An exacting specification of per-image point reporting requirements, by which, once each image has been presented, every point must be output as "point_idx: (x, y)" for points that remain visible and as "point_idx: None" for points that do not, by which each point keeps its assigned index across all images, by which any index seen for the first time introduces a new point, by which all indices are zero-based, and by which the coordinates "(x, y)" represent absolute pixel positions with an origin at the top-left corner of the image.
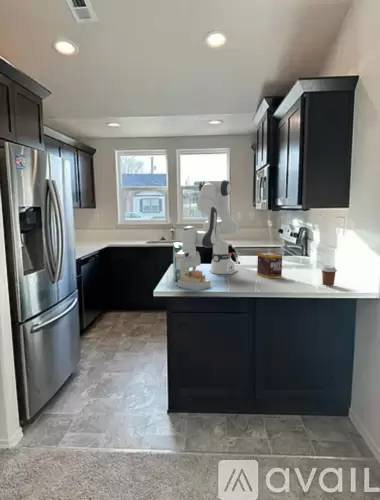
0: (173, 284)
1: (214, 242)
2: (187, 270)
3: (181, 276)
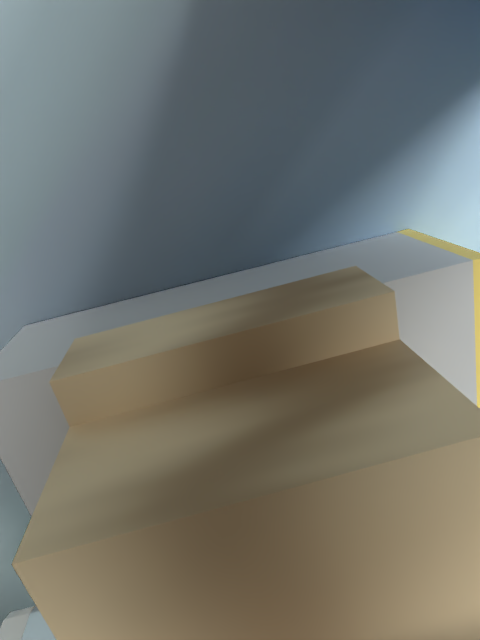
0: (36, 88)
1: None
2: (441, 479)
3: (72, 439)
